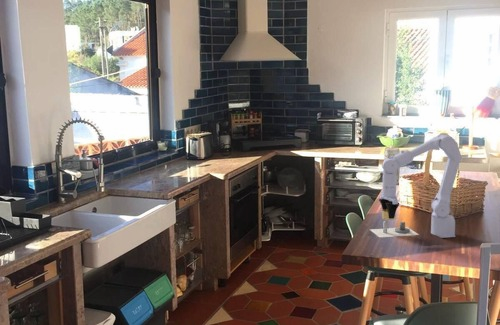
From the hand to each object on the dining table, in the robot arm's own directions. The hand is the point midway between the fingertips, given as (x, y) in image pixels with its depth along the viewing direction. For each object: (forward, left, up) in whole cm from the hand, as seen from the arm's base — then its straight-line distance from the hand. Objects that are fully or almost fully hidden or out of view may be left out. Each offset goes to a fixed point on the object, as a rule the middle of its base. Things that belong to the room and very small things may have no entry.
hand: (388, 216), depth 246 cm
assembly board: (-2, 0, -8) cm, 9 cm away
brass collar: (0, 0, -1) cm, 1 cm away
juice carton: (-43, -101, -9) cm, 110 cm away
